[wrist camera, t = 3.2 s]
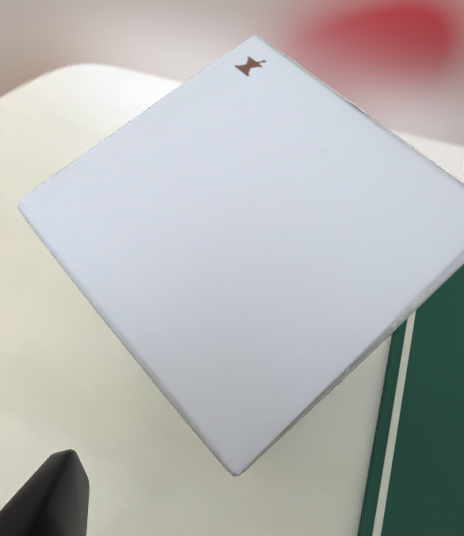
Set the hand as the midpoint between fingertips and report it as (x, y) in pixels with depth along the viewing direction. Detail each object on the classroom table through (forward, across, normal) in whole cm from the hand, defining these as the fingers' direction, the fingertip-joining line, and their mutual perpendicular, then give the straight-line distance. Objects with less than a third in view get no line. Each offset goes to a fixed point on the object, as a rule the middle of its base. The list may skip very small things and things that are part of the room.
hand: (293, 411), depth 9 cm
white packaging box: (+10, 0, +5) cm, 12 cm away
